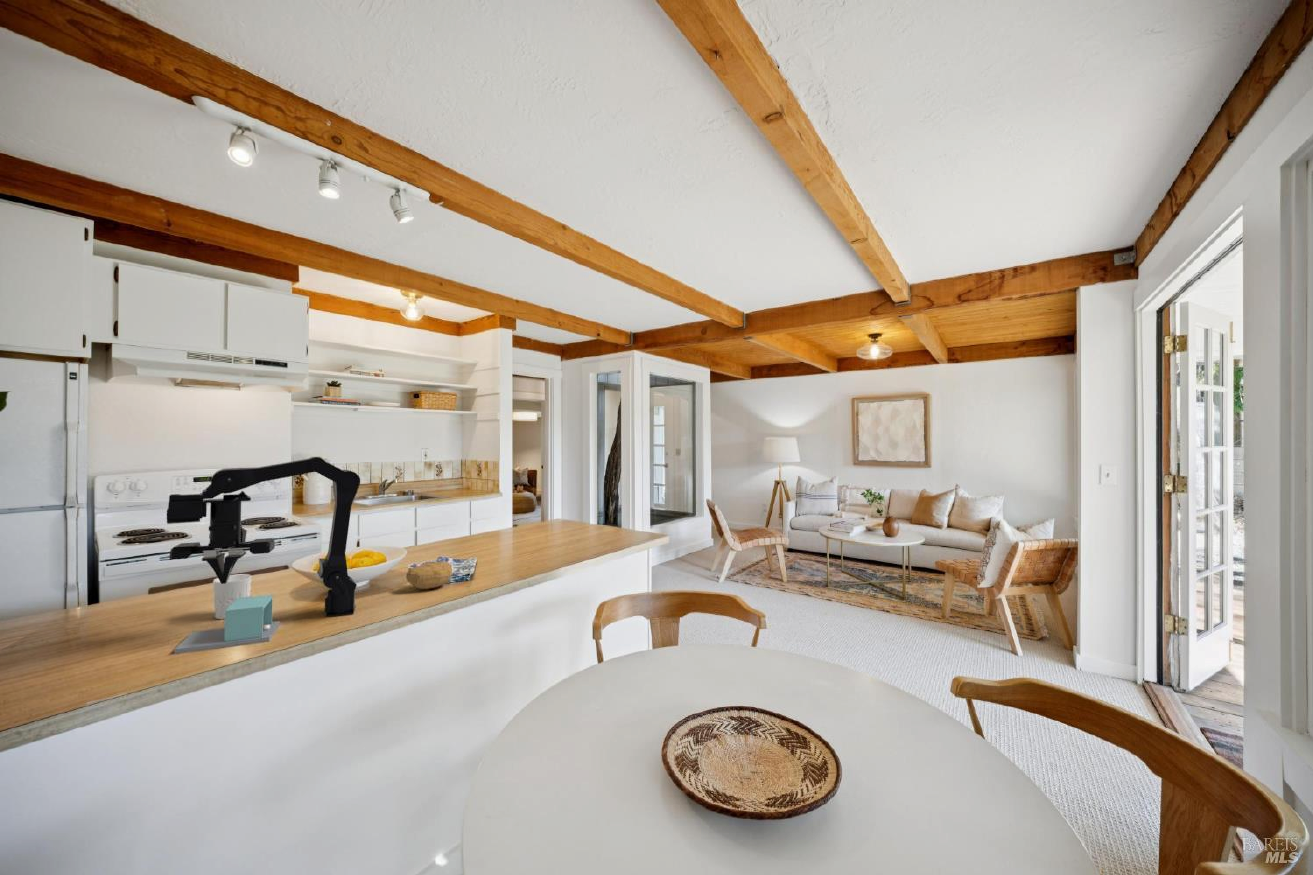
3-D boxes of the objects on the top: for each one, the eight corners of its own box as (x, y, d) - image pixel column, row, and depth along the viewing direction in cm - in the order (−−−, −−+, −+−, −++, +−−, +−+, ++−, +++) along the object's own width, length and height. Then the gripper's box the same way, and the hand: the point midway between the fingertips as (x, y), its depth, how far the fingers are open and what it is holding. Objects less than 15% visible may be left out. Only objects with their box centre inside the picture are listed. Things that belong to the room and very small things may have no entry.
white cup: (233, 620, 129) (234, 582, 129) (203, 619, 129) (204, 581, 129) (258, 610, 137) (258, 574, 137) (230, 609, 137) (231, 573, 137)
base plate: (279, 624, 127) (279, 617, 127) (269, 641, 117) (269, 632, 117) (193, 635, 119) (193, 627, 119) (174, 653, 109) (174, 644, 109)
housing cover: (272, 622, 126) (272, 594, 126) (262, 636, 117) (263, 606, 117) (237, 626, 122) (238, 597, 122) (224, 641, 114) (225, 610, 114)
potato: (401, 588, 159) (402, 564, 158) (445, 580, 168) (446, 557, 168) (411, 596, 151) (411, 570, 151) (456, 587, 161) (457, 563, 161)
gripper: (280, 513, 132) (278, 571, 132) (188, 516, 123) (186, 578, 123) (269, 519, 122) (268, 582, 122) (169, 524, 113) (167, 591, 113)
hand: (224, 583), depth 121 cm, fingers closed
